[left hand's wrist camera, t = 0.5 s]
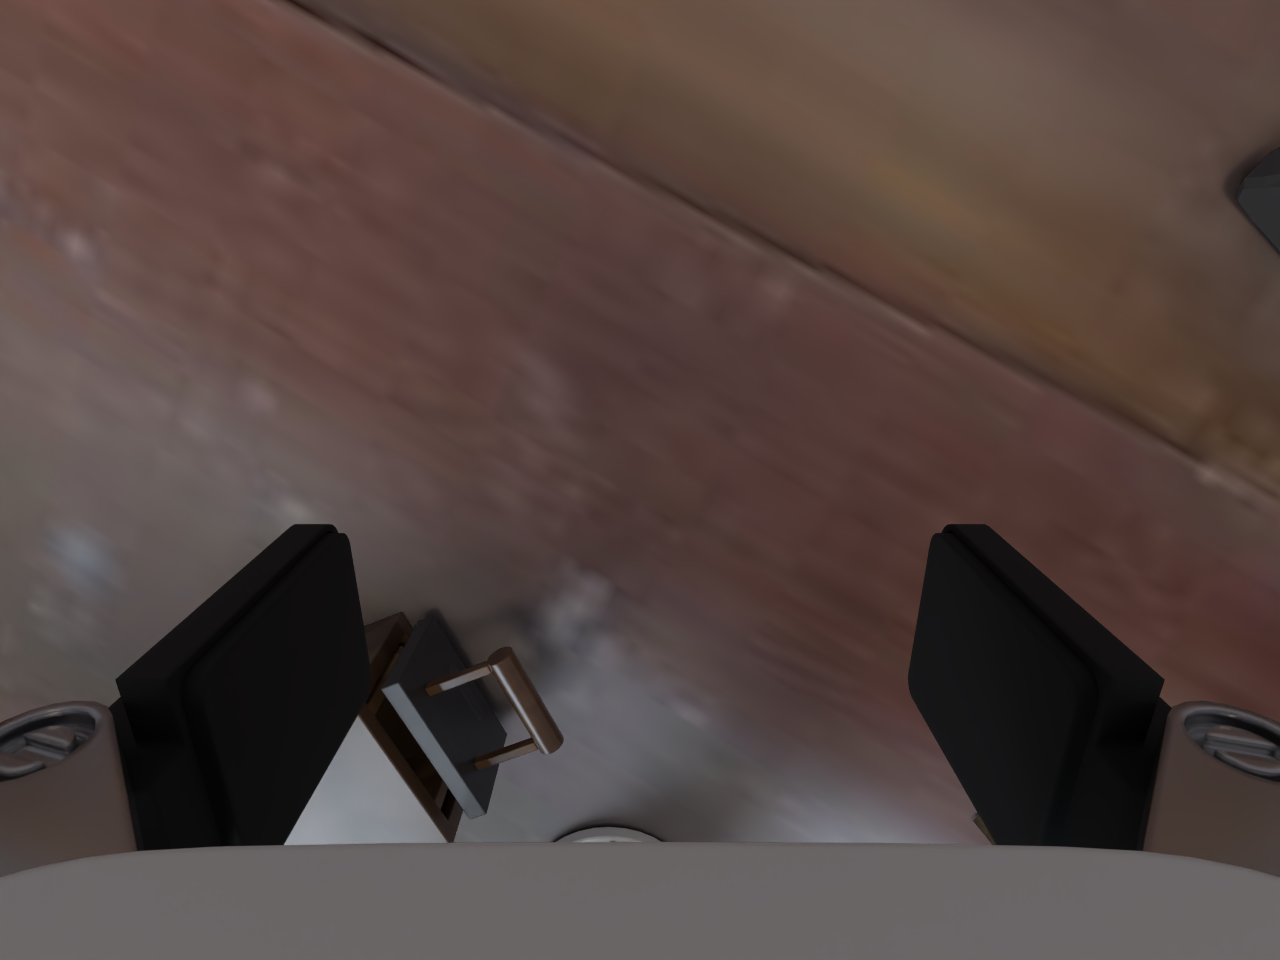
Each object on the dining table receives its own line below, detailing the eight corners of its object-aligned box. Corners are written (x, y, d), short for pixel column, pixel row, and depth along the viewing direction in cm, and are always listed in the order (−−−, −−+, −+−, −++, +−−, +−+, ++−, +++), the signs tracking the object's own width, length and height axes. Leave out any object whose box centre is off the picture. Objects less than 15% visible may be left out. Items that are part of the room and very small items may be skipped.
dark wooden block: (402, 611, 46) (348, 699, 37) (484, 740, 50) (452, 847, 41) (190, 695, 48) (94, 795, 40) (284, 812, 52) (215, 926, 44)
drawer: (512, 583, 44) (490, 646, 37) (582, 707, 47) (573, 784, 41) (231, 693, 47) (166, 769, 40) (316, 802, 50) (268, 888, 44)
